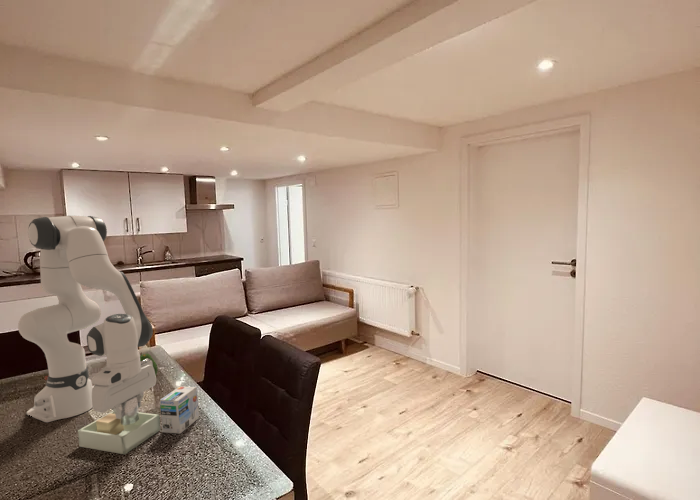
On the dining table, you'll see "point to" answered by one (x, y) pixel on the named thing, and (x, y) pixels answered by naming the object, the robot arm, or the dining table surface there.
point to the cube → (109, 424)
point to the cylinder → (129, 411)
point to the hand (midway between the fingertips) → (129, 412)
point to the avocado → (145, 356)
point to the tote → (120, 435)
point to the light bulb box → (179, 409)
